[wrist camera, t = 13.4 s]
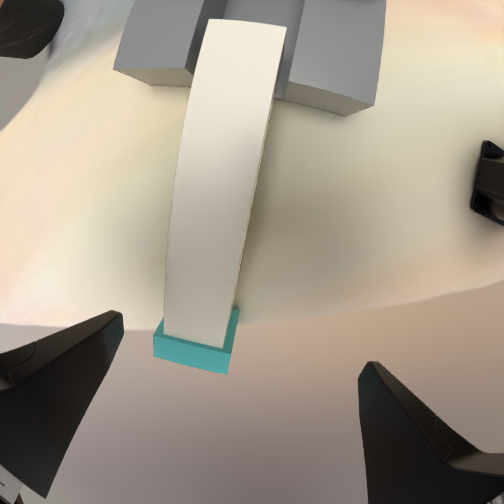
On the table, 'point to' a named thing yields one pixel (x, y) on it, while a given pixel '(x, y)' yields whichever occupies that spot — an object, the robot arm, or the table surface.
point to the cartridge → (216, 189)
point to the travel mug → (28, 26)
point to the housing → (295, 51)
